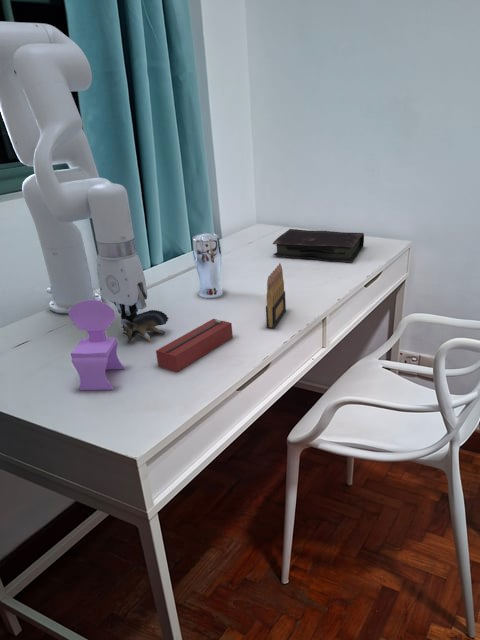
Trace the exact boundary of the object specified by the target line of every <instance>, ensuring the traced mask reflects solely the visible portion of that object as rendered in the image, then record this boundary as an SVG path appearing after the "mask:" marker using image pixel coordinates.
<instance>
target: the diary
mask: <svg viewBox="0 0 480 640" xmlns="http://www.w3.org/2000/svg"><path fill="white" fill-rule="evenodd" d="M364 243H365V233H364V232H343V231H331V230H306V229H297V228H289V229H288V230H286V231H285V232H284V233H282V234H281V235H279V236H278V237H277V238H276V239H274V241H273V242H272V245H275V247H276V252H275V253H272V255H273V256H275V257H282V258H291V259H311V260H312V259H313V260H318V261H325V262H332V263H333V262H335V263H336V262H337V263H353V261H354V260H355V259H356V258H357V256H358V254H359V253H360V252H361V250H362V249H363V248H364Z"/></svg>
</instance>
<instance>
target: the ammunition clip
mask: <svg viewBox="0 0 480 640" xmlns="http://www.w3.org/2000/svg"><path fill="white" fill-rule="evenodd" d="M283 272H284V271H283V267H282V263H280V262H279V263H278V265H277V266H276V267H275V268H274V270H272V272H271V273H270V275H268V277H267V281H266V306H265V319H266V323H265V324H266V329H273V330H274V329H276V327H277V326H278V324H279V323H280V321H281V320H282V318H283V316H284V315H285V313H286V312H287V306H286V305H287V303H286V302H287V301H286V291H285V281H284V274H283Z"/></svg>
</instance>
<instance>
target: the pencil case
mask: <svg viewBox="0 0 480 640" xmlns="http://www.w3.org/2000/svg"><path fill="white" fill-rule="evenodd" d="M233 337H234V336H233V325H232V322H229V321H226V320H221V319H218V318H212V319H209V320H207V321H206V322H205V323H203V324H201V325H199V326H196V327H195V328H193V329H192V330H190V331H188V332H187V333H185V334H183V335H181V336H180V337H178V338H176V339H174V340H172V341H170V342H169V343H167V344H166V345H163V346H161V347H160V348H158V349H156V350H155V353H156V360H157V366H158V367H159V368H163V369H165V370H169V371H172V372H176V373H178V372H180V371H182V370H183V369H185V368H187V367H188V366H189V365H191V364H193V363H194V362H196V361H198V360H199V359H201V358H203V357H204V356H205V355H207V354H209V353H211V352H212V351H214V350H215V349H217V348H219V347H220V346H222V345H223V344H225V343H226V342H228V341H230V340H231V339H233Z"/></svg>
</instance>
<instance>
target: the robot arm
mask: <svg viewBox="0 0 480 640" xmlns="http://www.w3.org/2000/svg"><path fill="white" fill-rule="evenodd" d="M92 73H93V72H92V68H91V64H90V61H89V60H88V58H87V56H86V54H85V53H84V51H83V50H82V49H81V47H80V46H79V45H78V44H77V43H76V42H74V40H72V39H71V38H70V37H68V36H67V35H66V34H64V33H63V31H61V30H60V29H58V28H57V27H56V26H53V25H51V24H48V23H41V22H21V21H20V22H19V21H18V22H17V21H0V114H1V117H2V119H3V120H2V121H3V122H4V125H5V128H6V131H7V134H8V136H9V139H10V142H11V144H12V147H13V150H14V152H15V154H16V156H17V159H18V160H19V161H20V163H22V164H23V165H24V166H27V167H31V168H32V167H33V172H34V173H33V174H31V175H29V176H28V177H26V178H25V179H24V181H23V182H22V187H21V191H22V195H23V196H22V197H23V199H24V201H25V203H26V206H27V208H28V211H29V213H30V215H31V218H32V221H33V223H34V226H35V229H36V232H37V236H38V240H39V244H40V248H41V252H42V256H43V259H44V263H45V267H46V271H47V275H48V279H49V284H50V287H47V288H46V293H48V294H51V296H52V300H50V301H49V303H48V306H49V309H50V310H51V311H52V312H54V313H57V314H69V311H70V309H71V308H72V307H73V306H74V305H76V304H77V303H79V302H82V301H85V300H90V299H95V300H99V301H101V302H103V299H104V300H106V301H108V302H110V303H112V304H114V306H115V307H116V310H117V313H118V314H120V320H122V319H126V320H128V321H130V322H133V320H134V318H135V317H136V315H137V314H138V312H139V310H143V309H146V308H147V302H146V300H147V299H148V288H147V283H146V278H145V273H144V269H143V266H142V263H141V260H140V256H139V254H137V253H138V252H137V247H136V239H135V233H134V228H133V222H132V214H131V208H130V201H129V196H128V195H129V194H128V191H127V189H126V188H125V186H124V185H122V184H119V183H115V182H114V183H113V182H112V181H110V180H109V179H107V178H106V177H105V178H104V177H100V175H99V171H98V169H97V165H96V162H95V160H94V156H93V152H92V149H91V146H90V143H89V141H88V137H87V135H86V133H85V131H84V130H83V128H84V127H83V126H84V124H83V119H82V117H81V115H80V112H79V109H78V107H77V105H76V102H75V99H74V97H73V94H72V92H83V91H84V92H85V91H86V90H88V89H89V88H90V87H91V85H92V81H93V74H92ZM63 164H66V165H67V166H68V168H66V169H55V170H54V167H53V166H56V165H63ZM88 219H91V220H92V221H91V222H92V226H93V232H94V236H95V242H96V247H97V251H98V253H97V254H96V271H97V280H98V287H99V292H100V293H97V292H95V290H94V286H93V282H92V276H91V271H90V268H89V262H88V258H87V253H86V249H85V244H84V239H83V236H82V232H81V229H79V227H78V226H77V225H76V224H75V222H78V221H83V220H88ZM122 327H125V326H123V325H122ZM122 329H123V330H122V331H123V332H126V331H125V329H124V328H122ZM130 329H131V328H130Z"/></svg>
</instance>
